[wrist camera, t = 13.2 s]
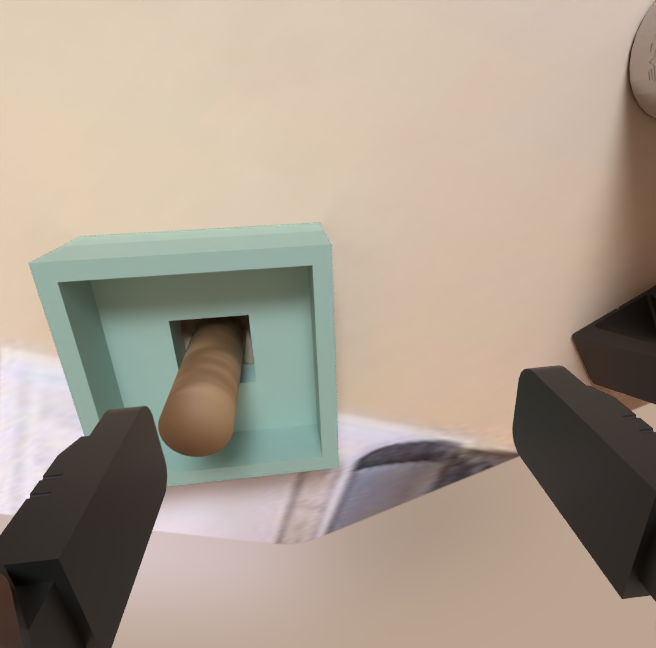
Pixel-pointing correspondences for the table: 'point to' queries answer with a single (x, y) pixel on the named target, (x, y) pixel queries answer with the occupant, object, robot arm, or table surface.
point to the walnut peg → (205, 389)
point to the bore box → (195, 303)
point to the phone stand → (623, 348)
